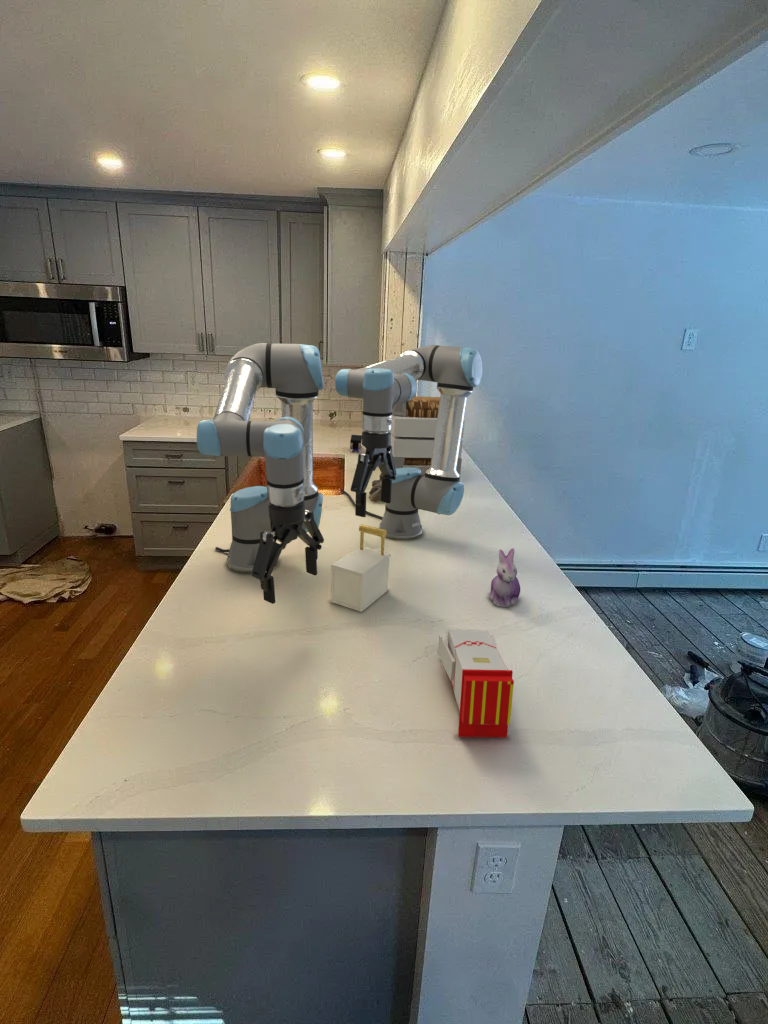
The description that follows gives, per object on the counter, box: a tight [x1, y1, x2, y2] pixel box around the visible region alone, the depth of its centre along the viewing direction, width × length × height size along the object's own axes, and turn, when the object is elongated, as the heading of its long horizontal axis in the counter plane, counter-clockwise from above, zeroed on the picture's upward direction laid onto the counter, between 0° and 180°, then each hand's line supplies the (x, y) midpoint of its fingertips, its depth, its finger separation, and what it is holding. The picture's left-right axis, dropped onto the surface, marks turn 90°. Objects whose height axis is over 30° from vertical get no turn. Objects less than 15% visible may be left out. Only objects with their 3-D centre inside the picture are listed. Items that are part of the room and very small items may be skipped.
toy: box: [437, 628, 515, 738], centre depth 117 cm, size 12×13×30 cm
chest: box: [330, 557, 390, 613], centre depth 154 cm, size 14×10×10 cm, turn 151°
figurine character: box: [349, 434, 363, 453], centre depth 311 cm, size 7×8×15 cm
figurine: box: [489, 547, 521, 608], centre depth 154 cm, size 9×10×15 cm
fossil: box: [368, 472, 385, 503], centre depth 238 cm, size 22×10×15 cm
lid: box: [330, 523, 392, 576], centre depth 151 cm, size 15×10×8 cm, turn 151°
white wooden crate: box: [389, 395, 465, 482], centre depth 268 cm, size 34×33×41 cm
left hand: (291, 586), depth 126 cm, fingers open, 13 cm apart
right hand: (373, 509), depth 153 cm, fingers open, 13 cm apart
